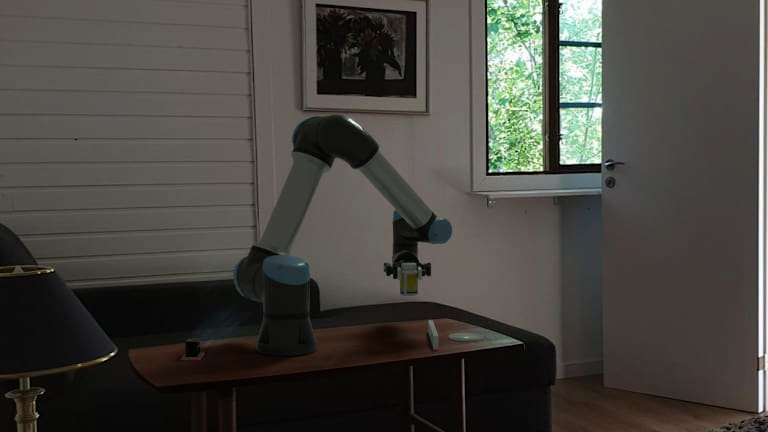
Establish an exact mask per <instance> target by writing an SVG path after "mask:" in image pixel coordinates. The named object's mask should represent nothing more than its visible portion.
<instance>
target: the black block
mask: <svg viewBox="0 0 768 432" xmlns="http://www.w3.org/2000/svg"><path fill="white" fill-rule="evenodd" d="M184 342H185V347H184V349H185V350H184V351H185V352H184V353H185V357H198V356H199V355H200V354H201V353H200V352H201V338H198V337H197V338H187V339H186V341H184Z"/></svg>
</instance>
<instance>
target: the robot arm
mask: <svg viewBox="0 0 768 432" xmlns="http://www.w3.org/2000/svg"><path fill="white" fill-rule="evenodd" d="M291 143H292V145H293V147H292V148H293V149H292V151H291V153H290V155H291V158H292V161H293V163H292V166H291V167H290V169H289V170H290V171H289V172H288V174H287V176H286V177H287V178H286V179H285V182H284V184H283V187H282V189H281V191H280V194H279V196H278V198H277V200H276V203H275V205H274V207H273V211H272V212H271V214H270V216H269V220H268V222H267V225H266V227H265V229H264V231H263V233H262V236H261V238H260V240H259V241H258V242H255V243H253V244H252V246H251V247H250V250H249V251H248V254H247V255H246V256H244V257H243V258H241V259H239V261H238V262H237V263H236V264H235V267H234V269H233V270H234V271H233V283H234V286H235V289H236V291H237V292H238V293H239V294H240V295H241V296H243V297H244V298H246V299H248V300H251V301H253V302H258V303H263V305H262V307H263V309H262V311H263V314H262V315H263V316H262V317H263V318H262V323H261V326H260V329H259V332H258V336H257V339H256V344H255V345H256V346H255V348H256V352H257V353H259V354H262V355H268V356H276V357H277V356H279V357H284V356H285V357H289V356H292V357H293V356H301V355H306V354H310V353H314V352H315V351H316V350H317V339H316V335H315V331H314V329H313V326H312V323H311V319H310V298H311V297H310V294H311V293H310V289H311V288H310V286H311V285H310V284H311V283H310V282H311V270H310V265H309V262H308V261H307V260H306V259H304V258H302V257H299V256H292V255H291V251H292V248H293V246H294V244H295V241H296V239H297V236H298V234H299V232H300V229H301V227H302V224H303V223H304V220H305V217H306V215H307V212H308V210H309V208H310V205H311V203H312V200H313V198H314V196H315V194H316V192H317V188H318V186H319V184H320V182H321V178H322V177H323V175H324V174H326V173H329V172H331V169H332V167H333V165H334V162H335V160H336V159H339V160H342V161H344V162H345V163H347V164H348V165H349V166H350V167H351V169H353V170H358V171H359V172H360V173H361V174H362V175H363V176H364V177H365V178H366V180H368V182H369V183H370V184H371V185H372V186H373V187H374V188H375V189H376V190H377V191H378V193H380V195H382V197H383V198H384V199H385V200H386V201H387V202H388V203H389V205H391V207H393V208H394V210H393V212H392V213H393V214H392V256H391V262H392V263H390V262H384V263H383V273H385V276H387V277H391V275H392V279H393V280H397V281H400V280H401V270H402V269H401V264H402V263H416V267H417V268H416V270H417V271H418V281H423V280H422V279H423V277H426V276H427V277H432V263H431V262H426V263H422V262H420V260H419V257H418V256H419V255H418V254H419V253H418V252H419V250H418V249H419V248H418V246H419V243H426V244H432V245H443V244H446V243H447V242H449V240H450V239H451V238H452V236H453V226H452V223H451V222H450V220H448V219H447V218H445V217H444V218H443V217H442V216H441V217H440V216H437V215H436V213H434V211H433V210H432V209H431V208H430V207H429V205H427V204H426V203H425V201H424V200H423V199H422V198H421V196H420V195H418V194H417V192H416V191H415V190H414V189H413V188H412V187H411V185H410V184H409V183H408V182H407V181H406V180H405V178H404V177H403V176H402V175H401V174H400V173H399V172H398V170H397V169H396V168H395V167H394V166H393V165H392V164H391V162H390V161H389V160H388V159H387V158H386V157H385V156H384V155H383V153H382V152H381V151H380V144H379V143H378V141H376V139H374V137H373V135H371V134H370V133H369V132H368V131H367V130H366V129H365V128H364V127H363V126H361V125H360V124H359V123H358V122H357V121H355V120H354V119H352V118H350V117H348V116H347V115H344V114H343V115H342V114H331V115H324V116H320V115H314V116H311V117H310V116H309V117H308V118H305V119H303V120H302V121H300V122H299V123H298V124H297V125H296V126H295V128H294V130H293V132H292V137H291Z"/></svg>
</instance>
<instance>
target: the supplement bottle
mask: <svg viewBox="0 0 768 432" xmlns="http://www.w3.org/2000/svg"><path fill="white" fill-rule="evenodd" d="M416 268H417V267H416V263H402V264H401V269H402V270H401V280H399V294H400V295H401V296H404V297H405V296H406V297H415V296H418V294H419V279H418V271H417V270H416Z"/></svg>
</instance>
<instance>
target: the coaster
mask: <svg viewBox="0 0 768 432" xmlns="http://www.w3.org/2000/svg"><path fill="white" fill-rule="evenodd" d="M448 339H449V341H455V342H464V343H469V342H470V343H472V342H479V341H482V339H483V335H481V334H478V333H474V332H473V333H471V332H455V333H454V332H453V333H450V334H449V335H448Z"/></svg>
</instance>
